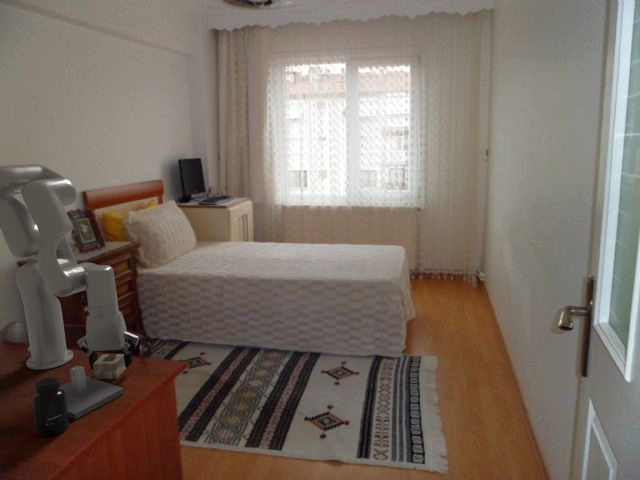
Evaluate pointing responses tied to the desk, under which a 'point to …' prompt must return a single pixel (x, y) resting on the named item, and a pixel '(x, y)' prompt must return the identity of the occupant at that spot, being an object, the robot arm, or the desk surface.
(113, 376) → the beige block with hole
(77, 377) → the steel post
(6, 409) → the desk surface
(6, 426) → the desk surface
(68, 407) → the hub plate
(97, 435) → the desk surface
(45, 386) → the supplement bottle
